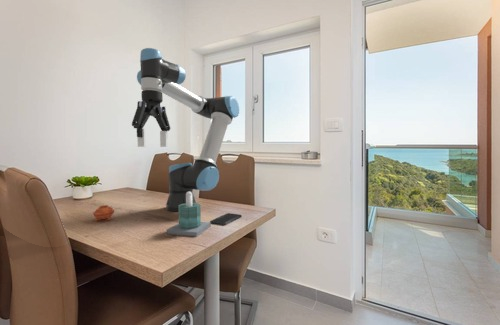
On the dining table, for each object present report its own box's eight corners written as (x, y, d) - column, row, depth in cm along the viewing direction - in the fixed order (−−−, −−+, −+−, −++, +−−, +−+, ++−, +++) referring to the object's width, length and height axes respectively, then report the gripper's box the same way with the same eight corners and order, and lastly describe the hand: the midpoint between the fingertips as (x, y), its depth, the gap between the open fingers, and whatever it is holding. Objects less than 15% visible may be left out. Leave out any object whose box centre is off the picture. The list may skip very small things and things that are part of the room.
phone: (242, 214, 113) (224, 223, 99) (242, 217, 113) (224, 226, 99) (227, 212, 116) (208, 221, 103) (227, 215, 116) (208, 224, 103)
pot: (120, 217, 111) (116, 203, 109) (105, 226, 104) (101, 211, 102) (106, 214, 114) (103, 201, 112) (91, 223, 107) (87, 209, 105)
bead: (185, 222, 99) (185, 202, 99) (203, 223, 97) (203, 203, 97) (175, 228, 92) (175, 206, 91) (194, 229, 90) (193, 208, 89)
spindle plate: (183, 223, 102) (182, 188, 101) (210, 226, 99) (210, 189, 98) (166, 233, 90) (165, 193, 89) (196, 236, 87) (196, 195, 86)
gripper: (137, 82, 82) (139, 146, 83) (178, 97, 106) (179, 146, 108) (119, 84, 84) (121, 146, 85) (162, 98, 108) (163, 146, 109)
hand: (153, 146), depth 96 cm, fingers open, 13 cm apart
